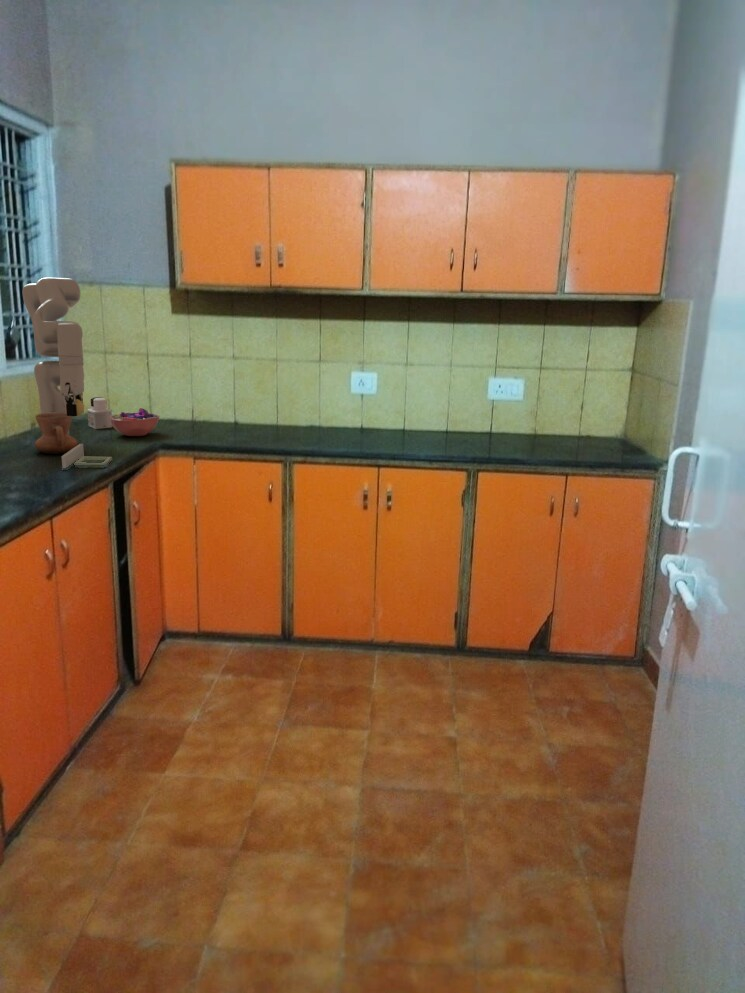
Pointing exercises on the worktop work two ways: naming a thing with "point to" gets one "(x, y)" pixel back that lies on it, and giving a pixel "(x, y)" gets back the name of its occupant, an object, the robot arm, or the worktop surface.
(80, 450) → the wall
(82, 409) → the ball
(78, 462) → the tray
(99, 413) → the container
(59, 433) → the ceramic jug
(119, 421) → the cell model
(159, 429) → the worktop surface
